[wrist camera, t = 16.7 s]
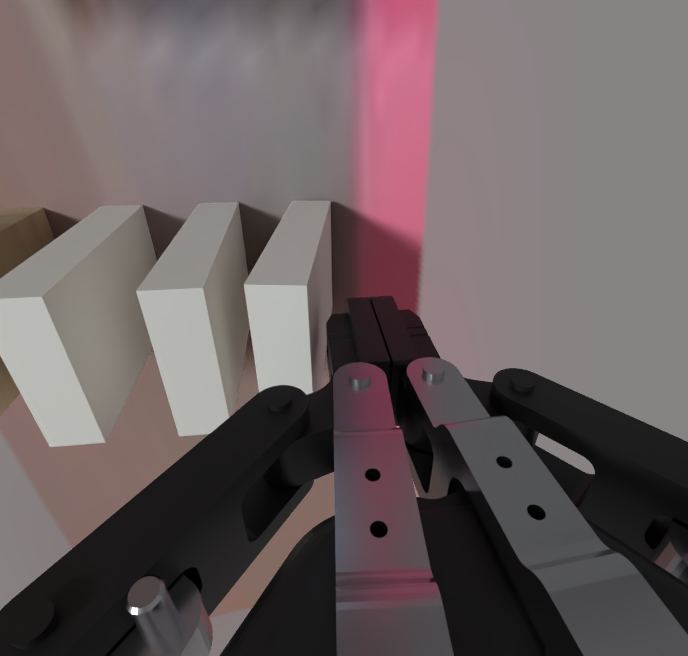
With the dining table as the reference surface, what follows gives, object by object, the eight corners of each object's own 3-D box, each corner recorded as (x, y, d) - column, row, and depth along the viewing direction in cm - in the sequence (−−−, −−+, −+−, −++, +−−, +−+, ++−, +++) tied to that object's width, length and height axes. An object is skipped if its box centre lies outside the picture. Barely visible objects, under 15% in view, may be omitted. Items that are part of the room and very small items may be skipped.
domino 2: (198, 203, 17) (135, 290, 10) (238, 202, 17) (202, 287, 10) (218, 310, 20) (179, 436, 13) (252, 308, 20) (231, 432, 13)
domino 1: (292, 200, 17) (243, 284, 10) (330, 200, 17) (306, 285, 10) (299, 305, 20) (264, 427, 13) (332, 306, 20) (314, 428, 13)
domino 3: (101, 206, 17) (-30, 300, 10) (142, 205, 17) (41, 296, 10) (134, 314, 19) (50, 446, 12) (170, 312, 19) (105, 442, 13)
